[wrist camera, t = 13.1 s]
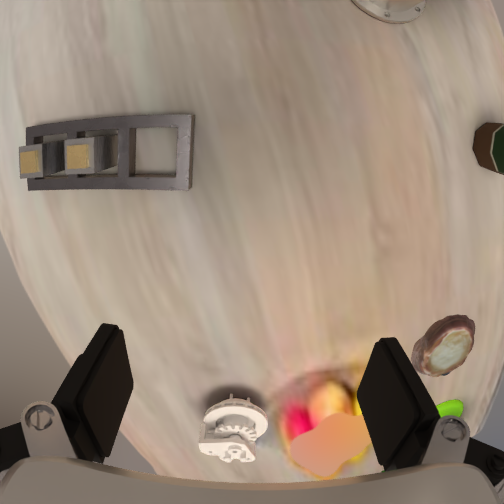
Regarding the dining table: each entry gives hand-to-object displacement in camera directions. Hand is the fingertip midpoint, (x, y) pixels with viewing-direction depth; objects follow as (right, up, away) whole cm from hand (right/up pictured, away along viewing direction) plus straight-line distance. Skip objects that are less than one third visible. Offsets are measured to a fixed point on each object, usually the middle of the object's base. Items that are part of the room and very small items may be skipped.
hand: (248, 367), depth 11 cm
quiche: (+37, -14, +40) cm, 56 cm away
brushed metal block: (-19, +17, +26) cm, 36 cm away
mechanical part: (-3, -24, +42) cm, 49 cm away
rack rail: (-19, +17, +26) cm, 36 cm away
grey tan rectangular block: (-26, +18, +25) cm, 41 cm away
